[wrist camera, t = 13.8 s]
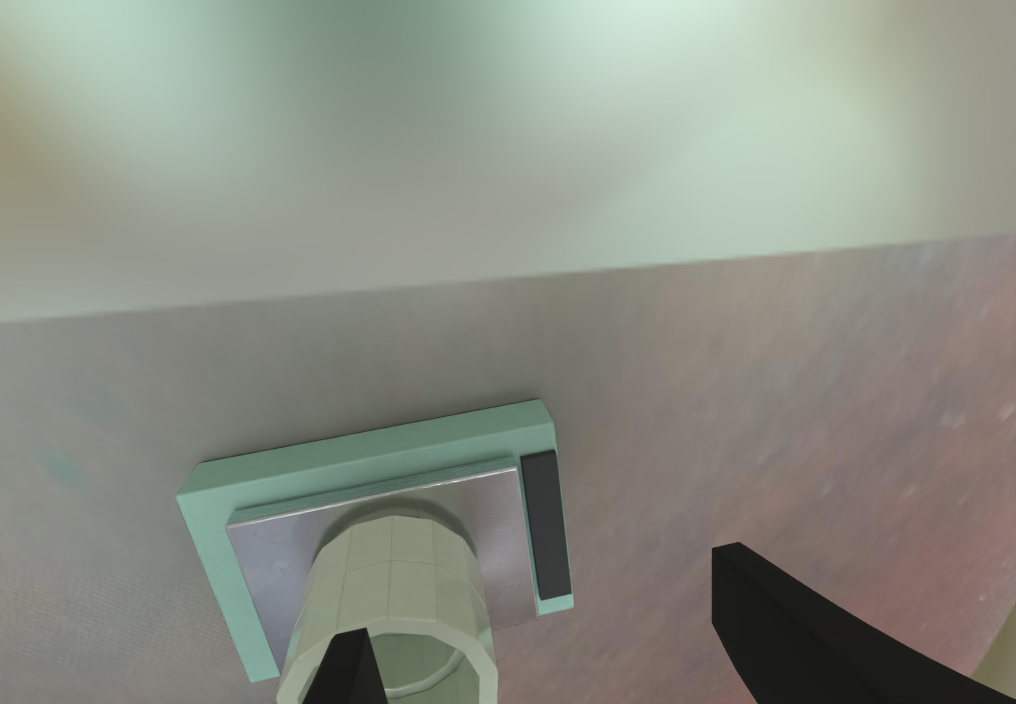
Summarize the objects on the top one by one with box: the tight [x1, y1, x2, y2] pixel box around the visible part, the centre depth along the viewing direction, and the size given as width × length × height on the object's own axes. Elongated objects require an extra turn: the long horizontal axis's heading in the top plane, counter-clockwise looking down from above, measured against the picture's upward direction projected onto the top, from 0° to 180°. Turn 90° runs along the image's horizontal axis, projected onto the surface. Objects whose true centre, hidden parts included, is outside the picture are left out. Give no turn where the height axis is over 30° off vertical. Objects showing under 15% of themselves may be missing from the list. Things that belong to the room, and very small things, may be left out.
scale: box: [176, 399, 574, 683], centre depth 20 cm, size 12×8×2 cm, turn 97°
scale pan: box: [225, 456, 539, 677], centre depth 18 cm, size 9×6×1 cm
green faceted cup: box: [276, 515, 498, 704], centre depth 16 cm, size 5×6×4 cm
